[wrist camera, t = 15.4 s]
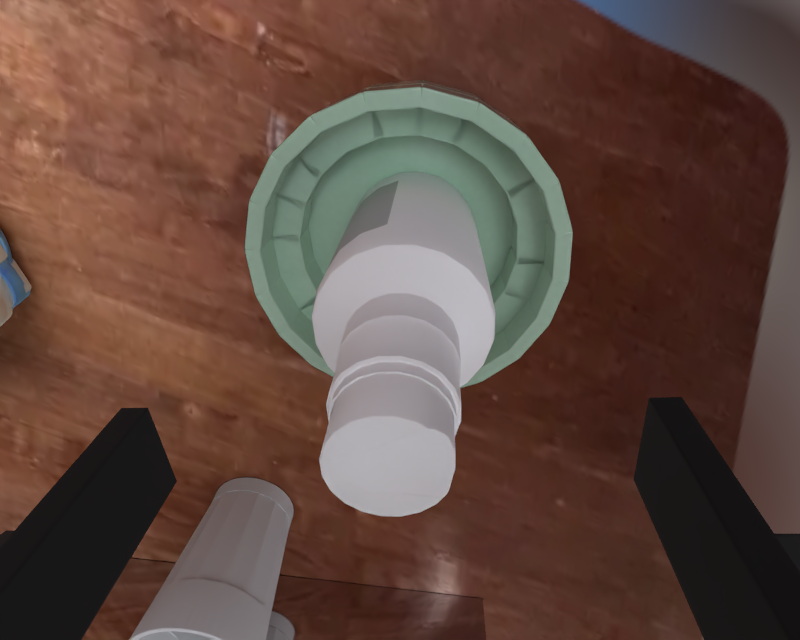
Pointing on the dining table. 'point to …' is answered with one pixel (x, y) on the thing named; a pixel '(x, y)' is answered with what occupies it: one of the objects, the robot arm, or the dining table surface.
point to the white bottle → (401, 343)
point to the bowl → (410, 152)
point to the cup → (225, 569)
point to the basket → (10, 282)
